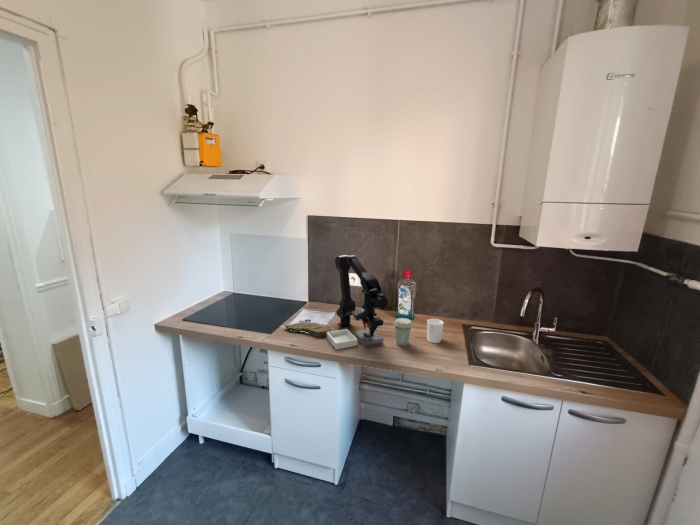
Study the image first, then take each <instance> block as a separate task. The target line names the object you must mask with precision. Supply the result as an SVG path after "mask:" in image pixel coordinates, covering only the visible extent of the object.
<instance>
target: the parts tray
mask: <svg viewBox="0 0 700 525" xmlns="http://www.w3.org/2000/svg"><path fill="white" fill-rule="evenodd" d="M326 339H327V340H328V341H329V343H330V344H331V346H332V347H333V348H334V349H335V350H341V349H346V348H351V347H356V346H358V340H357V339H356V337H355V334H352V332H351V331H350V330H349V329H348V328H341V329H339V330H331V332H327V337H326Z"/></svg>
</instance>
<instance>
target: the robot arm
mask: <svg viewBox="0 0 700 525" xmlns="http://www.w3.org/2000/svg"><path fill="white" fill-rule="evenodd" d="M334 264H335V267H336V269H337V271H338V272H339V279H340V282H339V283H340V291H341V292H340V293H341V299H340V301H339V308H338V309H337V310H336V313H335V314H336V316H337V317H339V320H340V322H338V323H337V325H338V326H339V327H340V329H348V328H353V324H352V323H351V316H352V317H353V318H354V319H355V320H356V321H357V322H359V321H361V322H362V324H363V328H364V330H365V329H366V326H365V322H368V321H369V323H367V324H368V325H369V326H370V335H373V334H374V332H376V330H377V328H378V327H381V326H384V320H383V319H382V318H380V317H379V316H378V314H377V313H376V309H380V310H385V309H386V308H387V307H388V304H389V301H388V299H387V297H386V295H385V294H383V290H382V287H381V285H380V283H379V280H378V278H377V277H376V276H374V274H372V273H369V272H368V271H367V269H366V268H365V267H364V266H363V264H362V263H361V262H360V260H358V256H357V255H354V254H353V255H349V254H344V255H338V256H336V257H335V258H334ZM350 269H352V270H353V272H354V273H355V274H356V276H357V277H358V279H359V283H360V286H361V287H362V289H363V290H361V293H363V303H362V304H361V307H356V301H355V300H354V299H353V298H352V295H351V294H352V293H351V284H350Z"/></svg>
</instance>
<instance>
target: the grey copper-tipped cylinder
mask: <svg viewBox="0 0 700 525" xmlns="http://www.w3.org/2000/svg"><path fill="white" fill-rule="evenodd" d="M367 323H369V321H368V322H365V326H366V329H365V328H364V330H365V337H367V338H368V337H372V335H370V326H369V325H368V324H367Z"/></svg>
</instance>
